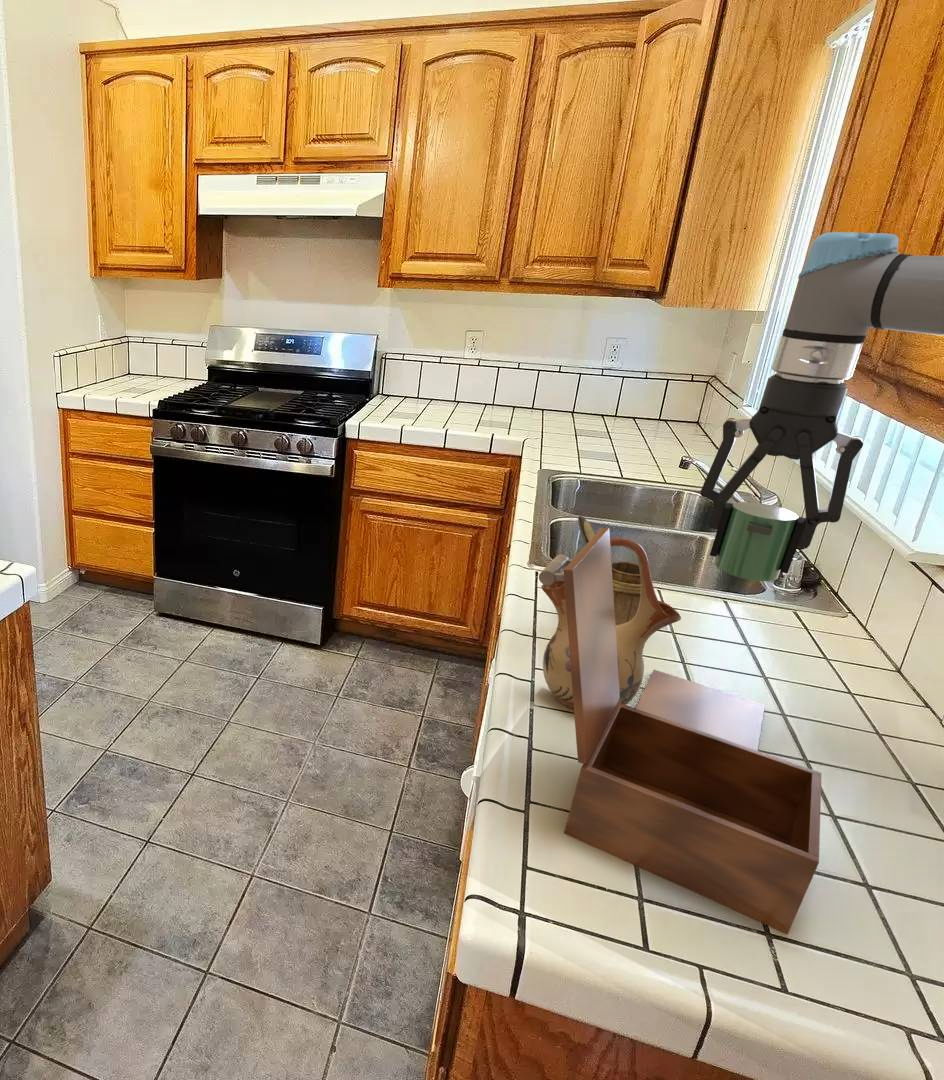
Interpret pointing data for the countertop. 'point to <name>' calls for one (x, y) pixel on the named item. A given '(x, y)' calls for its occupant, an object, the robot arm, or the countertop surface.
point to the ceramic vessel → (627, 635)
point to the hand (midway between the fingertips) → (748, 560)
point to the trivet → (703, 708)
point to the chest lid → (589, 636)
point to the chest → (701, 814)
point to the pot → (755, 541)
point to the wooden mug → (619, 581)
